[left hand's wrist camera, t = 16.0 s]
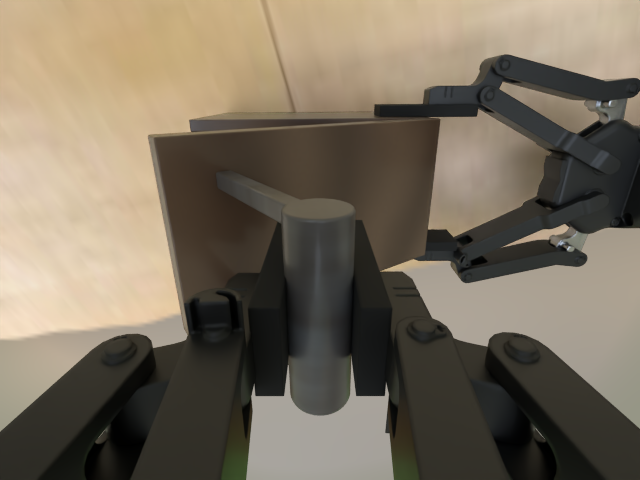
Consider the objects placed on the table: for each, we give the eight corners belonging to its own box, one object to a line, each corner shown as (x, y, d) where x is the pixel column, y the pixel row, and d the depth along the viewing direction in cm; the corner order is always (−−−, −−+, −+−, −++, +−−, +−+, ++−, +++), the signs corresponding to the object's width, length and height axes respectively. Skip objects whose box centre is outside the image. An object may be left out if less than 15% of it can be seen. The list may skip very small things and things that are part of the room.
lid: (183, 328, 17) (270, 487, 10) (147, 134, 14) (240, 173, 7) (412, 249, 26) (545, 306, 19) (426, 117, 22) (595, 126, 15)
